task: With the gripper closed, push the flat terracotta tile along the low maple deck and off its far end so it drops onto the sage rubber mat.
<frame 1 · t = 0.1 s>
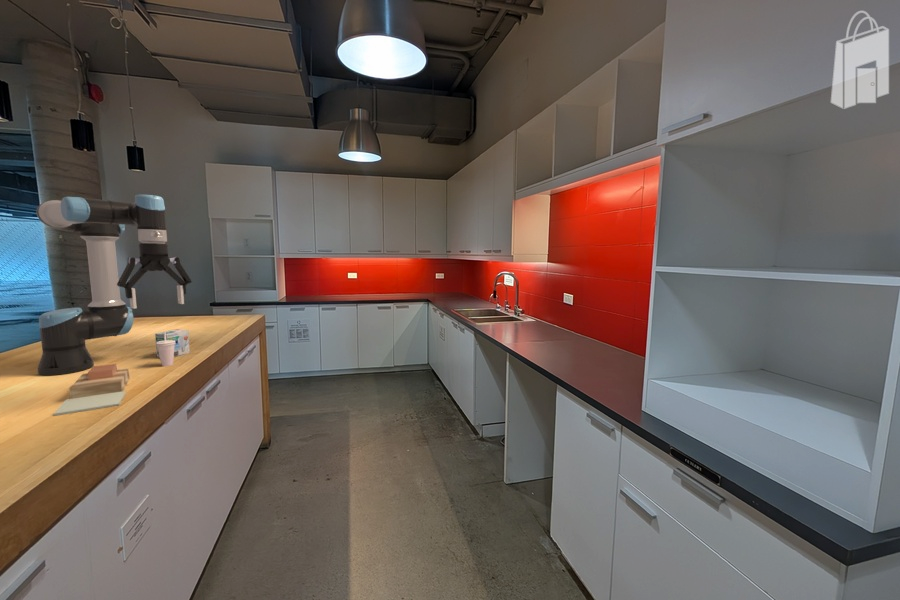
hand: (158, 305, 127), 28 cm above the table, tool pointing down, fingers open, 13 cm apart
tile: (103, 375, 128), point 4 cm above the table, touching deck
smoothie: (167, 365, 153), on the table
mat: (92, 403, 114), on the table
deck: (102, 389, 126), on the table
light bulb box: (173, 355, 167), on the table
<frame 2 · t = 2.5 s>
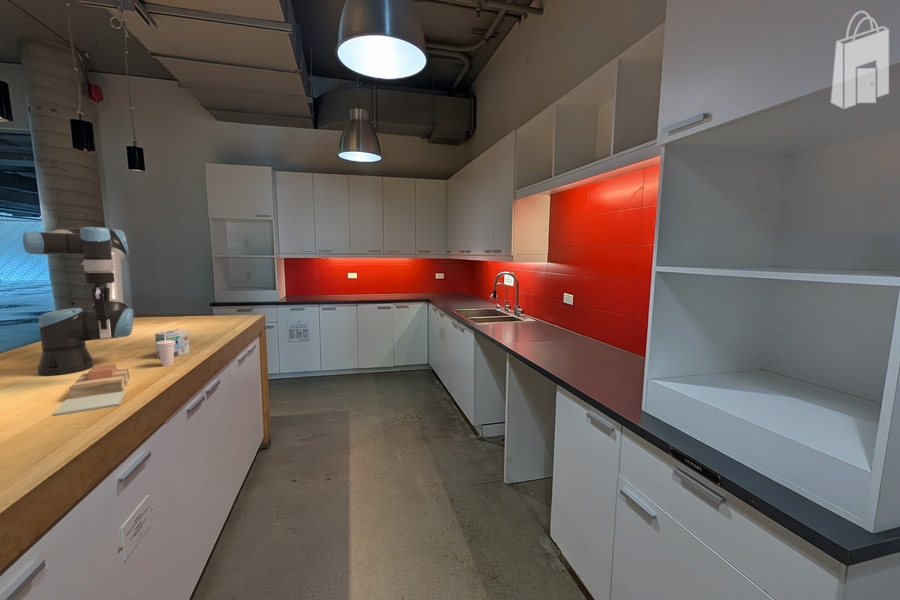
hand: (105, 337, 134), 15 cm above the table, tool pointing down, fingers closed
nothing on the table moved.
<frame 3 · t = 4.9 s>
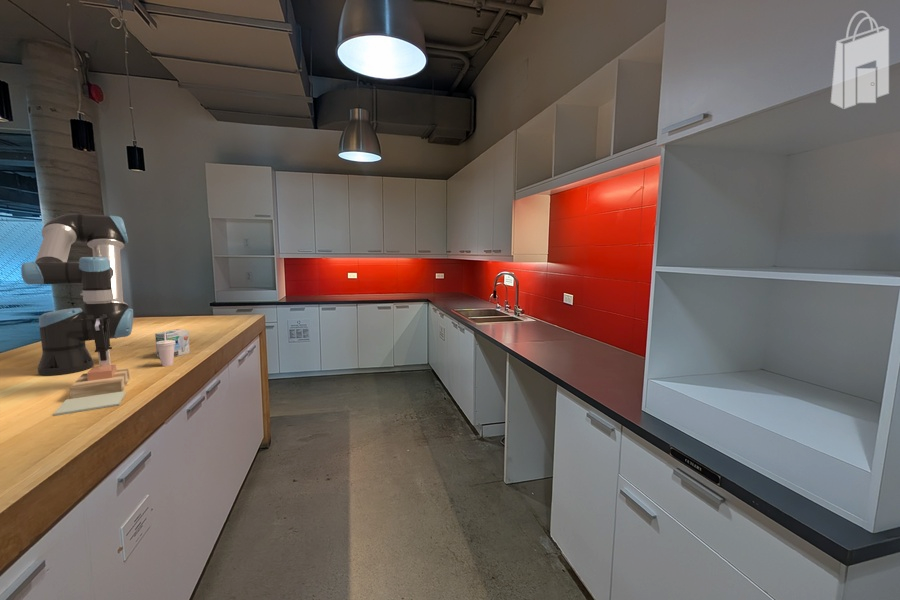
hand: (105, 368, 131), 5 cm above the table, tool pointing down, fingers closed
tile: (102, 375, 127), point 4 cm above the table, touching deck, gripper
everything else where it was.
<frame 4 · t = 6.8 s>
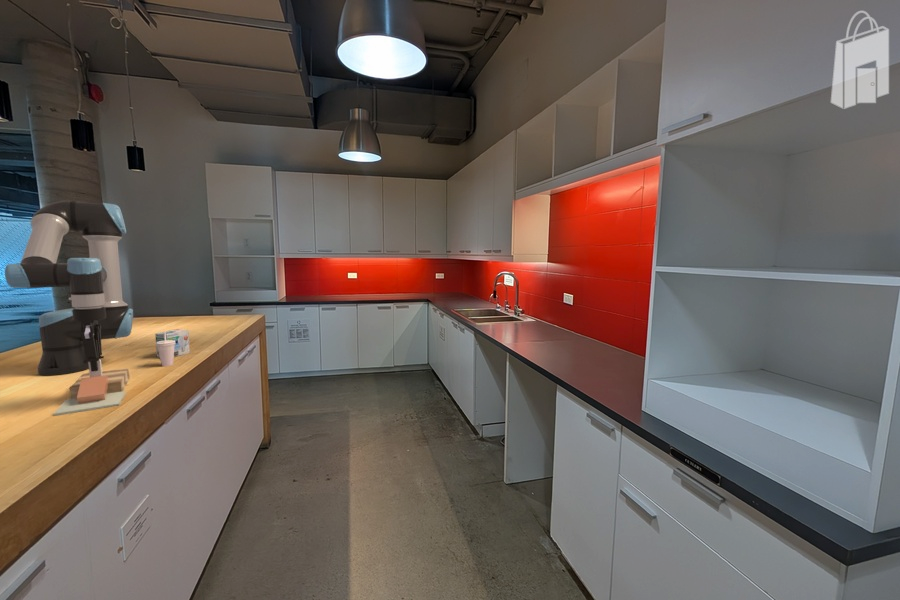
hand: (96, 379, 120), 5 cm above the table, tool pointing down, fingers closed
tile: (94, 391, 117), point 3 cm above the table, tilted 30°, touching gripper
everything else where it was.
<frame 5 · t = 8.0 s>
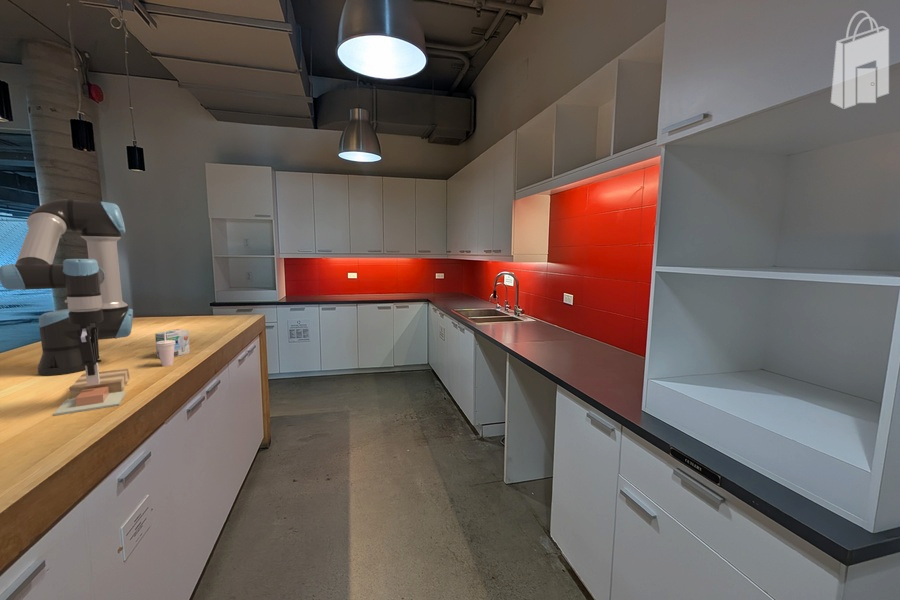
hand: (93, 384, 116), 5 cm above the table, tool pointing down, fingers closed
tile: (93, 399, 115), point 1 cm above the table, touching mat
everything else where it was.
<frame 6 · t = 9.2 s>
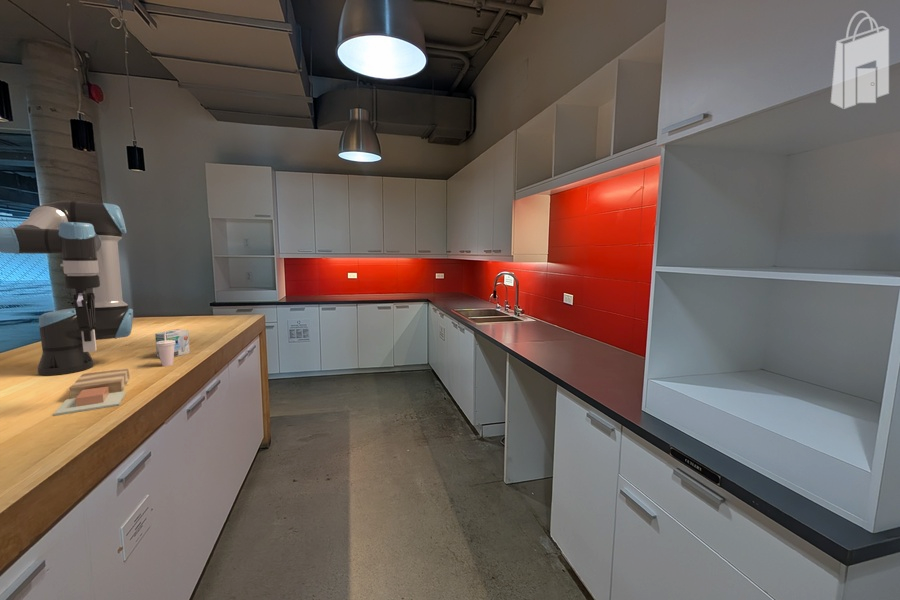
hand: (90, 350, 115), 16 cm above the table, tool pointing down, fingers closed
nothing on the table moved.
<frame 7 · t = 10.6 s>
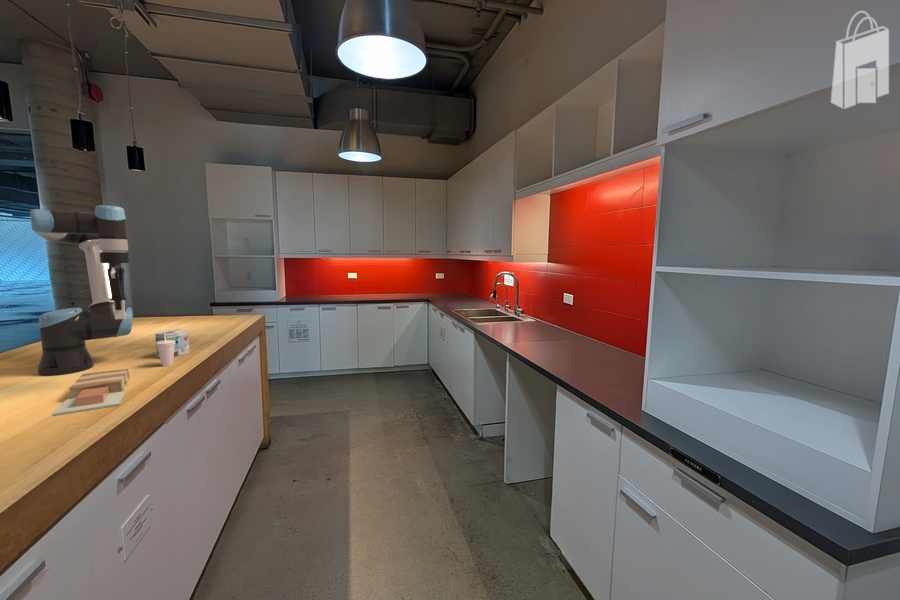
hand: (120, 318, 132), 22 cm above the table, tool pointing down, fingers closed
nothing on the table moved.
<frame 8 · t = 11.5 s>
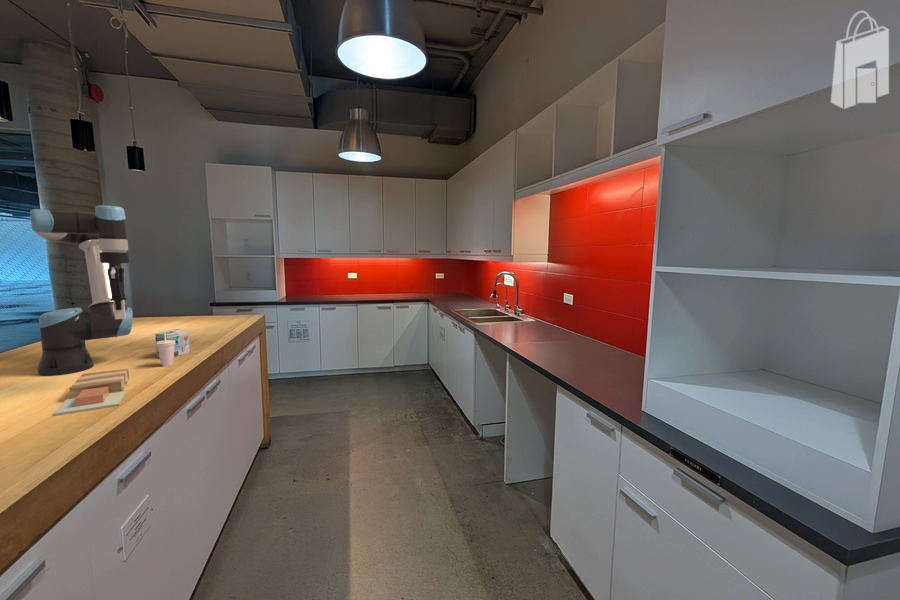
hand: (120, 318, 132), 22 cm above the table, tool pointing down, fingers closed
nothing on the table moved.
at the end: tile point 0.6 cm above the table; tile 1.3 cm from the mat (horizontally); tile touching mat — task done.
